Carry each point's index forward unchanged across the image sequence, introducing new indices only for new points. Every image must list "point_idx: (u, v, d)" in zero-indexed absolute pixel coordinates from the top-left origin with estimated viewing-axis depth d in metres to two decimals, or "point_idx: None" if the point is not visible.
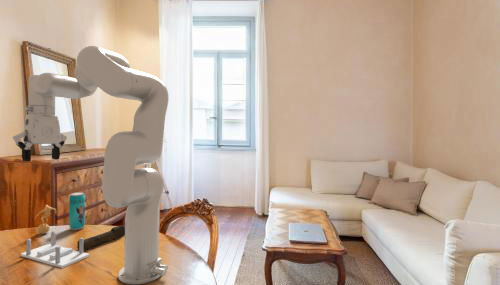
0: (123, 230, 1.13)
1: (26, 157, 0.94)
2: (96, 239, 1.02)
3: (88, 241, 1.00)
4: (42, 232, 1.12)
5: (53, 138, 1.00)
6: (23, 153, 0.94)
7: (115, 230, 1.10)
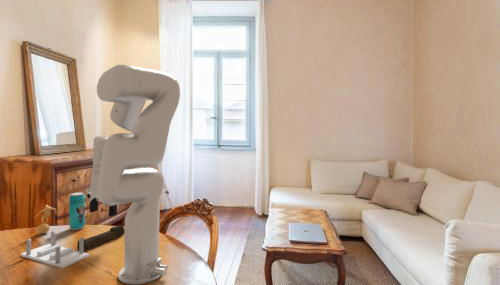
0: (122, 230, 1.14)
1: None
2: (96, 239, 1.02)
3: (88, 241, 1.00)
4: (42, 232, 1.12)
5: None
6: (114, 208, 1.05)
7: (114, 230, 1.10)
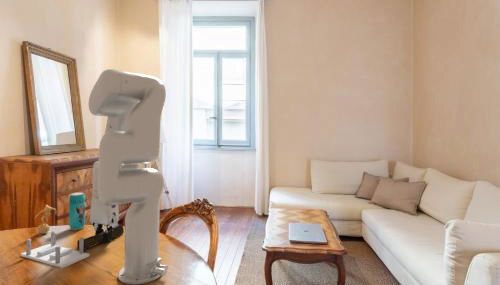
0: (121, 229, 1.14)
1: None
2: (96, 238, 1.03)
3: (88, 240, 1.00)
4: (42, 232, 1.12)
5: None
6: (109, 235, 1.06)
7: (114, 229, 1.10)
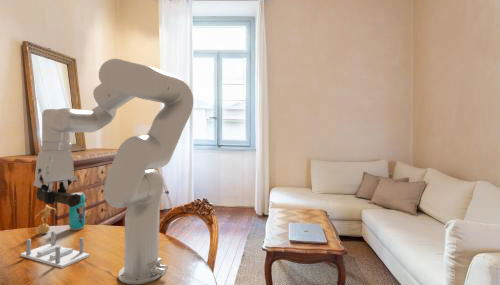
0: None
1: None
2: None
3: None
4: (42, 232, 1.12)
5: None
6: None
7: None
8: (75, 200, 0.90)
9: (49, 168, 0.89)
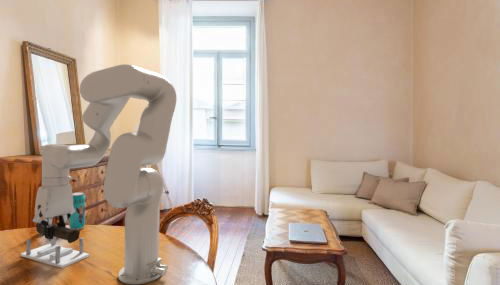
0: None
1: None
2: None
3: None
4: None
5: None
6: None
7: None
8: (75, 236, 0.90)
9: (49, 204, 0.89)
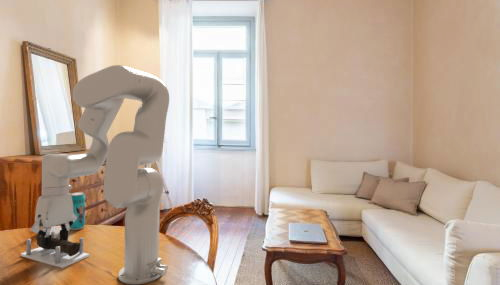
0: None
1: None
2: None
3: None
4: None
5: None
6: None
7: None
8: (75, 249, 0.90)
9: (49, 214, 0.89)
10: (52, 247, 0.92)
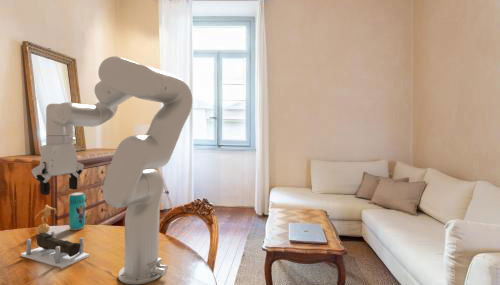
0: None
1: None
2: None
3: None
4: (42, 232, 1.12)
5: None
6: None
7: None
8: (75, 249, 0.90)
9: (54, 161, 0.91)
10: (52, 247, 0.92)
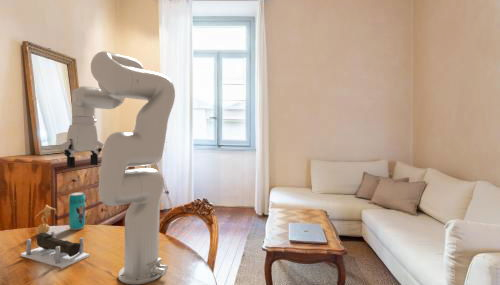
0: None
1: None
2: None
3: None
4: (42, 232, 1.12)
5: None
6: None
7: None
8: (75, 249, 0.90)
9: (78, 139, 1.04)
10: (52, 247, 0.92)
